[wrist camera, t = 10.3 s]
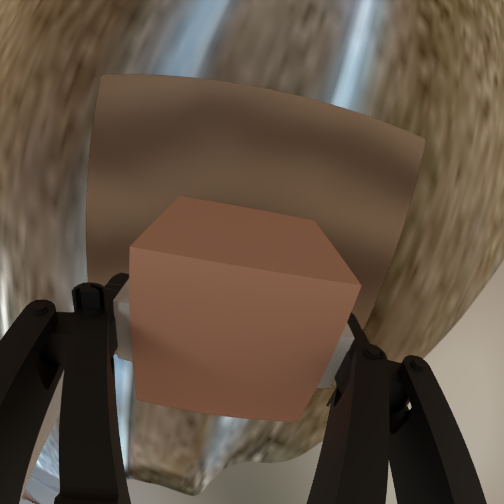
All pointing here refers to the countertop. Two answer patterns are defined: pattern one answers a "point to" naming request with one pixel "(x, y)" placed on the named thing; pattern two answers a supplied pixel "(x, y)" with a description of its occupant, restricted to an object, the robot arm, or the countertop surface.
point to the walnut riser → (245, 168)
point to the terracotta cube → (235, 310)
